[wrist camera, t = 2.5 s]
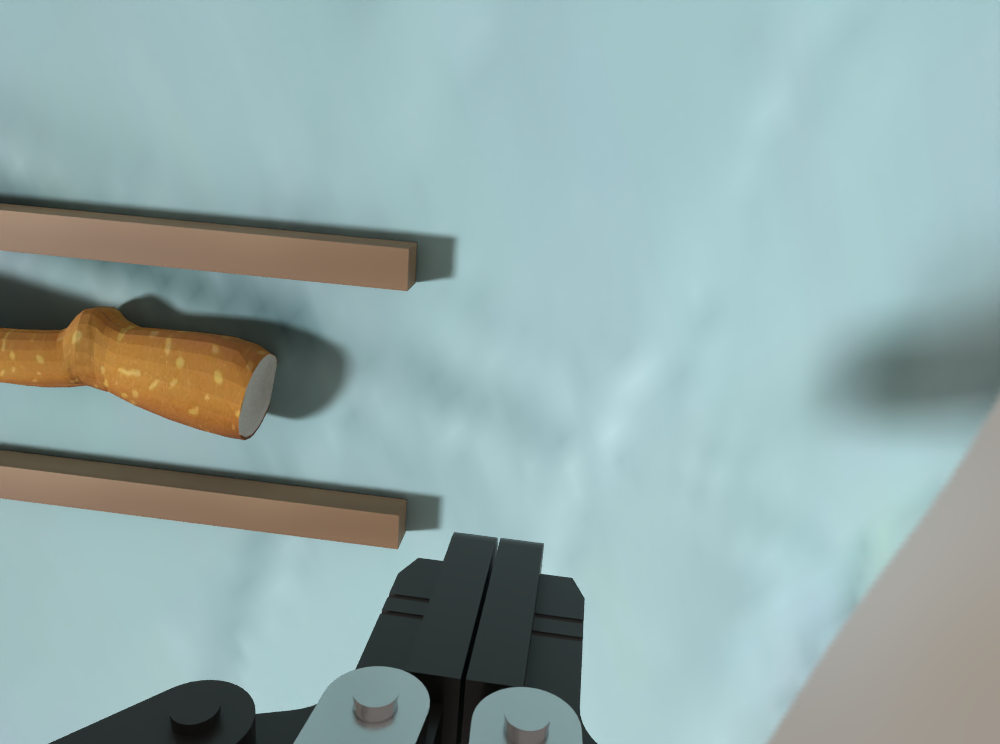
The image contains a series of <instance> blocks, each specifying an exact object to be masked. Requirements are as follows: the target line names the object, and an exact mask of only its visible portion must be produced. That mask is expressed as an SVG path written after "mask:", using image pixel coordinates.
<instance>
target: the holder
mask: <svg viewBox="0 0 1000 744" xmlns="http://www.w3.org/2000/svg"><path fill="white" fill-rule="evenodd" d="M0 250H2V251H12V252H22V253H32V254H42V255H52V256H62V257H72V258H82V259H92V260H102V261H112V262H122V263H132V264H142V265H152V266H162V267H172V268H182V269H192V270H202V271H212V272H222V273H232V274H242V275H252V276H262V277H272V278H282V279H292V280H302V281H312V282H322V283H332V284H342V285H352V286H362V287H372V288H382V289H392V290H402V291H408V290H409V289H410V288H411V287H412V286H413V285H414V284H415V282H416V257H417V243H416V242H405V241H394V240H384V239H373V238H363V237H352V236H342V235H331V234H320V233H310V232H299V231H289V230H278V229H268V228H257V227H247V226H236V225H225V224H215V223H204V222H194V221H183V220H173V219H162V218H151V217H141V216H130V215H120V214H109V213H99V212H88V211H77V210H67V209H56V208H46V207H35V206H25V205H14V204H4V203H0ZM0 498H3V499H11V500H19V501H27V502H34V503H42V504H50V505H58V506H66V507H73V508H81V509H89V510H97V511H104V512H112V513H120V514H128V515H136V516H143V517H151V518H159V519H167V520H175V521H182V522H190V523H198V524H206V525H213V526H221V527H229V528H237V529H245V530H252V531H260V532H268V533H276V534H284V535H291V536H299V537H307V538H315V539H322V540H330V541H338V542H346V543H354V544H361V545H369V546H377V547H385V548H393V549H398V548H399V545H400V543H401V541H402V539H403V536H404V534H405V531H406V506H407V500H405V499H397V498H389V497H381V496H373V495H365V494H357V493H348V492H340V491H332V490H324V489H316V488H308V487H300V486H291V485H283V484H275V483H267V482H259V481H251V480H243V479H234V478H226V477H218V476H210V475H202V474H194V473H186V472H178V471H169V470H161V469H153V468H145V467H137V466H129V465H121V464H112V463H104V462H96V461H88V460H80V459H72V458H64V457H55V456H47V455H39V454H31V453H23V452H15V451H7V450H0Z"/></svg>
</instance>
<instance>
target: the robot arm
mask: <svg viewBox="0 0 1000 744" xmlns="http://www.w3.org/2000/svg"><path fill="white" fill-rule="evenodd" d="M497 547H498V550H497ZM543 548H544V543H536V542H528V541H520V540H513V539H505V538H501V539H500V542H499V546H498V539H497V538H496V537H488V536H480V535H473V534H465V533H457V532H454V534H453V536H452V538H451V541H450V544H449V547H448V550H447V552H446V555H445V558H444V561H438V560H431V559H423V558H418V559H416V560H415V561H414V562H412V563H411V564H410V565H409V566H407V567H406V568H405V569H403V570H402V571H401V572H400V573H398V575H397V577H396V580H395V582H394V584H393V586H392V589H391V591H390V593H389V597H388V598H387V600H386V602H385V604H384V607H383V609H382V614H380V616H379V618H378V620H377V622H376V625H375V627H374V629H373V631H372V634H371V636H370V638H369V640H368V643H367V645H366V647H365V649H364V652H363V654H362V656H361V658H360V661H359V663H358V665H357V667H356V669H355V670H353V671H350V672H348V673H346V674H344V675H342V676H340V677H339V678H337V679H336V680H334V681H333V682H332V683H331V684H330V685H329V686H328V688H327V689H326V690H325V692H324V693H323V695H322V697H321V698H320V700H319V702H318V703H317V704H316V705H314V706H311V707H307V708H303V709H298V710H291V711H281V712H271V713H261V714H255V705H254V702H253V699H252V698H251V696H250V695H249V694H248V693H247V692H246V691H245V690H244V689H243V688H241V687H239V686H237V685H235V684H232V683H229V682H224V681H219V680H201V681H195V682H189V683H186V684H182V685H179V686H176V687H174V688H171V689H169V690H167V691H165V692H162V693H160V694H158V695H156V696H153V697H151V698H149V699H147V700H145V701H142V702H140V703H138V704H136V705H133V706H131V707H129V708H127V709H125V710H122V711H120V712H118V713H116V714H113V715H111V716H109V717H107V718H105V719H102V720H100V721H98V722H96V723H93V724H91V725H89V726H87V727H85V728H82V729H80V730H78V731H76V732H73V733H71V734H69V735H67V736H65V737H62V738H60V739H58V740H56V741H53V742H51V743H49V744H597V743H596V742H595V741H594V740H593V739H592V738H591V736H590V735H589V734H588V732H587V731H586V729H585V727H584V725H583V723H582V720H581V716H580V689H581V667H582V644H583V642H582V640H583V620H584V597H583V595H582V593H581V592H580V590H579V588H578V587H577V585H576V583H575V582H574V580H573V578H568V577H560V576H553V575H545V574H541V568H542V558H543Z"/></svg>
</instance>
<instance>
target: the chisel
mask: <svg viewBox="0 0 1000 744" xmlns="http://www.w3.org/2000/svg"><path fill="white" fill-rule="evenodd" d="M276 368H277V359H276V356H274V355H273V354H271V353H270V352H268V351H267V350H266V349H264V348H263V347H261V346H260V345H258V344H255V343H252V342H249V341H246V340H243V339H240V338H237V337H234V336H226V335H218V334H210V333H201V332H191V331H180V330H168V329H158V328H143V327H140V326H138V325H136V324H134V323H132V322H130V321H128V320H126V319H125V317H124V316H123V315H122V314H121V312H120V311H118V310H117V309H115V308H114V307H95V308H92V309H85V310H83V311H82V312H81V313H79V314H78V315H77V316H76V317H75V318H74V320H73V321H72V322H71V324H70V325H69V326H68V328H65V329H63V330H27V329H10V328H0V382H4V383H12V384H19V385H27V386H38V387H76V386H86V385H87V386H91V387H94V388H97V389H100V390H103V391H108V392H110V393H112V394H114V395H116V396H118V397H120V398H122V399H124V400H126V401H127V402H129V403H131V404H133V405H135V406H138V407H140V408H143V409H145V410H147V411H150V412H152V413H155V414H157V415H160V416H162V417H164V418H167V419H169V420H172V421H175V422H178V423H181V424H184V425H187V426H190V427H193V428H196V429H199V430H203V431H207V432H210V433H214V434H218V435H222V436H226V437H230V438H235V439H241V440H246V439H248V438H251V437H252V436H253V435H254V433H255V432H256V431H257V430H258V428H259V426H260V425H261V423H262V421H263V419H264V417H265V415H266V413H267V411H268V408H269V405H270V401H271V395H272V390H273V384H274V379H275V373H276Z"/></svg>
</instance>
